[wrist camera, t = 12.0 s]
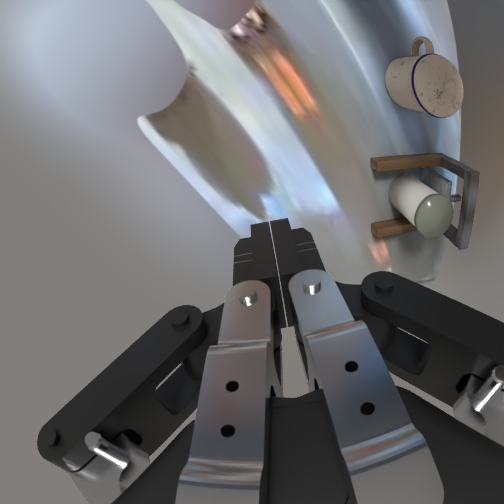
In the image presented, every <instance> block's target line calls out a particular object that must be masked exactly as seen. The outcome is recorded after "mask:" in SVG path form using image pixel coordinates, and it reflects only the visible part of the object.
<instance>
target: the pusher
mask: <svg viewBox="0 0 504 504" xmlns="http://www.w3.org/2000/svg"><path fill="white" fill-rule="evenodd" d="M421 182H422V183H424V184H425V185H427V186H428V187H430V188H431V189H433V190H434V191H435V192H437V193H438V194H441V195H443V196H444V197H446V198H447V199H448V200H449V201H450V202H457V201H460V200H461V196H460V195H459V194H456V195H451V187H452V182H451V181H449V180H448V179H446V178H444V177H443V176H441V175H439V174H438V173H436V172H434V171H432V170H431V169H429V168H427V167H422V176H421ZM445 232H446V231H445ZM445 232H444V233H445Z"/></svg>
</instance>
